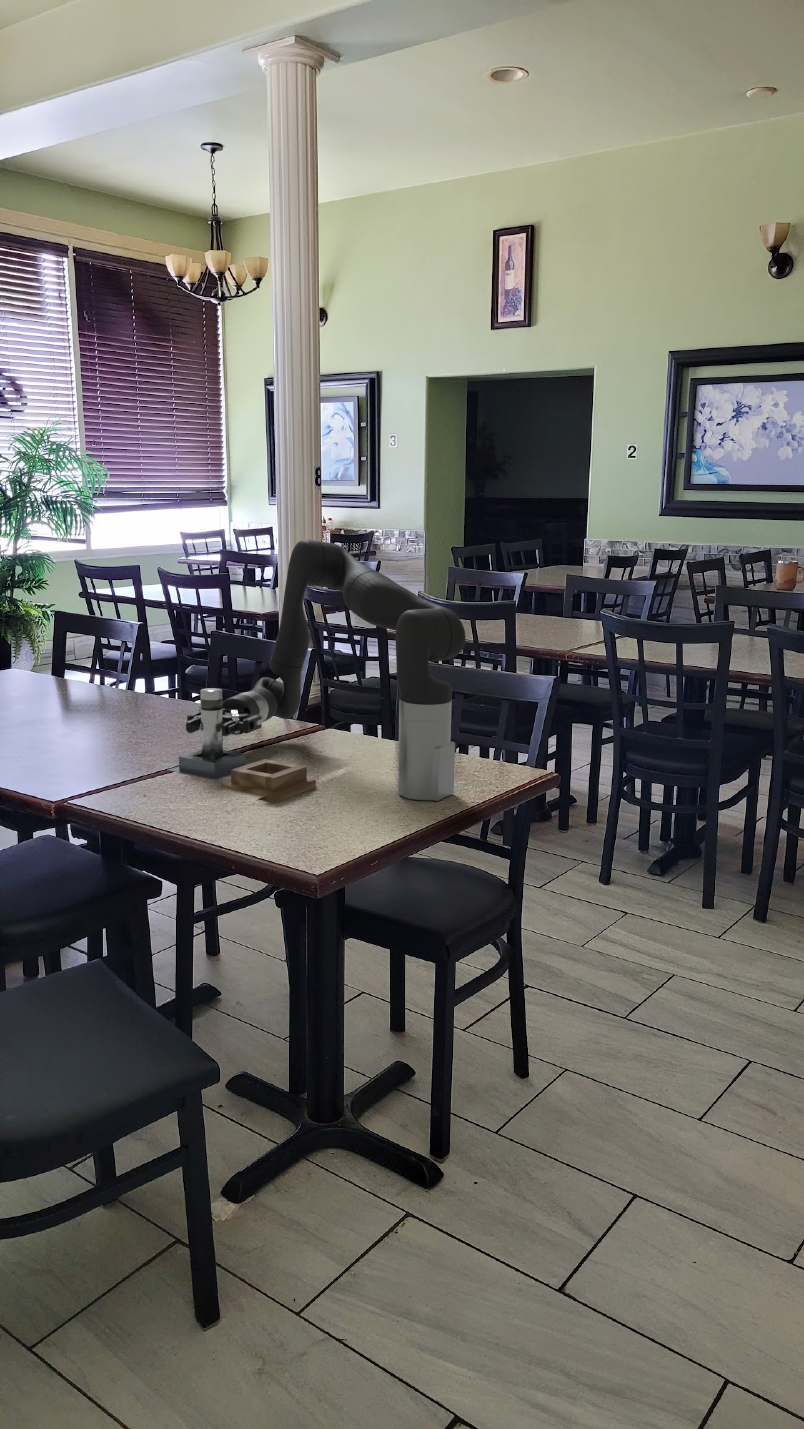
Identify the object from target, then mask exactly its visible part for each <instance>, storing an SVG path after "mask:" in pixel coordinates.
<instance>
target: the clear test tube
mask: <svg viewBox="0 0 804 1429" xmlns="http://www.w3.org/2000/svg"><path fill="white" fill-rule="evenodd" d="M199 700H200V703H199V704H200V710H201V729H200V734H201V738H200V739H201V740H200V741H201V742H200V743H201V746H200V747H201V750H202V758H206V759H212V760H215V759H218V758H221V757H223V750H224V736H222V725H223V710H222V709H223V701H224V699H223V689H222V688H215V687H214V688H213V687H211V688H202V689H200V699H199Z"/></svg>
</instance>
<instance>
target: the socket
mask: <svg viewBox="0 0 804 1429" xmlns="http://www.w3.org/2000/svg"><path fill="white" fill-rule="evenodd" d="M248 764H249V763H246V753H243V752H238V751H234V750H233V751H232V750H226V749H223V757H221V758H218V759H215V760H212V759H206V758H202V749H200V750H196V751H193V752H190V753H186V754H183V755H179V756H178V766H175V767H172V768H168V769H167V771H170V772H174V773H179V774H184V775H189V776H194V777H199V778H204V779H209V780H215V781H216V780H219V779H223V778H226V777H228V776H231V770H232V769H235V768H238V767H242V766H245V765H248Z"/></svg>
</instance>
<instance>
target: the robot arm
mask: <svg viewBox="0 0 804 1429" xmlns="http://www.w3.org/2000/svg"><path fill="white" fill-rule="evenodd" d="M308 586H310V587H311V586H312V587H319V588H325V589H332V590H336V591H339V592H340V593H342V597H343V602H344V604H345V606H346V607H347V608H348V609H349V611H351V612H352V613H353V614H354V615H356V616H357V617H359V618H360V619H362V620H363V621H365V622H367V623H368V624H370V625H372V626H376V627H379V628H383V629H387V630H391V631H395V657H396V658H395V660H396V664H395V665H396V680H397V682H396V683H397V686H398V690H399V705H398V706H399V707H398V708H399V714H398V715H399V716H398V765H397V768H398V771H397V773H398V776H397V777H398V779H397V785H398V786H397V791H398V792H397V794H398V795H399V796H401V797H403V798H405V799H410V800H416V801H437V802H439V801H441V800H442V799H445V798H447V797H449V796H451V795H453V794H454V792H455V791H454V790H455V762H456V757H455V756H456V743H455V742H454V741H451V736H452V733H451V732H452V703H453V702H452V701H453V700H452V698H453V688H452V685H451V684H450V683H449V682H446V681H444V680H441V679H438V678H435V677H434V676H432V675H431V674H430V673H431V672H430V667H429V666H430V665H429V663H431V662H439V661H440V662H441V661H447V660H450V659H453V658H456V656H458V655H459V654H461V652H462V650H464V649H463V648H464V647H465V644H466V631H465V627H464V625H463V623H462V620H461V619H460V618H459V616H458V615H457V614H456V613H455V612H454V611H453V610H451V609H449V608H447V607H444V606H442V605H439V604H437V603H434V602H431V601H429V600H426V599H424V598H422V597H421V596H418V595H417V594H415V593H413V592H412V591H410V590H409V589H407V588H406V587H403V586H402V585H401V584H398V583H397V582H395V580H392V579H391V578H390V577H388V576H386V575H385V574H383V573H381V572H379V571H377V570H375V569H374V568H371V567H370V566H367V565H366V564H363V563H362V562H360V561H359V560H358V559H356V558H355V557H354V556H353V555H352V554H351V553H350V552H348V551H347V550H346V549H345V548H344V547H343V546H341V545H339V544H336V543H333V542H325V541H320V540H314V539H306V538H305V539H300V540H299V541H298V542H297V543H296V544H295V545H294V547H293V549H292V551H291V553H290V557H289V562H288V567H287V574H286V581H285V587H284V593H283V600H282V601H283V602H282V611H281V618H280V624H279V628H278V632H277V636H276V639H275V642H274V647H273V650H272V653H271V656H270V659H269V665H268V666H269V669H270V670H271V671H272V672H273V674H275V675H276V676H278V677H279V678H280V680H281V681H282V682H281V681H278V680H277V679H274V678H272V677H267V676H265V677H261V678H259V679H258V680H257V681H256V683H255V684H254V686H253V688H252V689H251V690H248V691H246V692H245V691H244V692H241V693H239V694H236V695H234V696H231V697H228V698H226V699H225V700H223V709H222V710H223V725H222V736H223V737H228V736H230V735H234V736H238V735H243V734H249V733H252V732H255V731H257V730H259V729H261V728H262V723H264V722H267V721H268V720H270V719H271V718H273V717H274V716H275V717H277V718H279V719H283V720H289V719H291V718H292V717H294V716H295V715H296V714H297V712H298V710H299V708H300V704H301V699H302V698H301V697H302V695H301V694H302V691H301V689H302V688H301V685H302V684H301V682H302V670H303V668H304V664H305V661H306V659H307V658H306V657H307V654H308V651H309V647H310V641H311V640H310V638H311V637H310V629H309V627H308V623H307V619H306V615H305V610H304V609H305V608H304V597H305V593H306V590H307V588H308ZM186 718H187V719H186V723H185V731H186V733H187V734H192V733H195V732H197V731H199V730H200V731H201V709H198V710H195V711H193V712H192V713H190V714H189V713H188V714H187V715H186Z"/></svg>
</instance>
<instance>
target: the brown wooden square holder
mask: <svg viewBox="0 0 804 1429" xmlns="http://www.w3.org/2000/svg"><path fill="white" fill-rule="evenodd" d="M247 764H248V765H245V766H242V767H238V768H235V769H232V770H231V775H230V780H229V781H227V782H223V783H221V788H224V789H225V788H226V789H231V790H236V791H240V792H244V793H249V794H255V795H259V796H262V797H259V798H257V800H259V801H263V802H269V803H272V804H276V803H279V802H282V801H284V800H287V799H290V798H292V797H294V796H297V795H300V794H302V793H305V792H308V791H310V790H313V789H315V788H316V789H317V779H316V778H311V777H308V776H307V775H308V771H307V770H308V767H307V765H301V764H300V765H299V764H295V763H290V762H284V761H279V760H278V761H277V760H273V759H267V758H264V759H261V760H258V761H254V762H250V763H247Z"/></svg>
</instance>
